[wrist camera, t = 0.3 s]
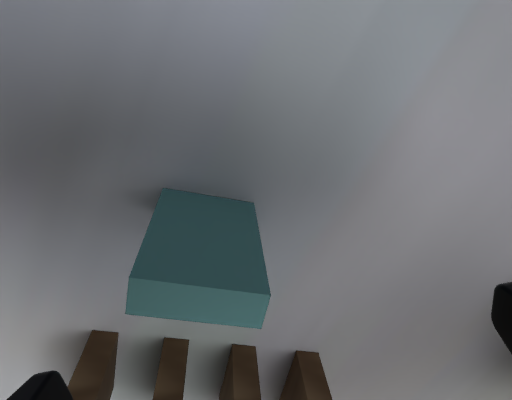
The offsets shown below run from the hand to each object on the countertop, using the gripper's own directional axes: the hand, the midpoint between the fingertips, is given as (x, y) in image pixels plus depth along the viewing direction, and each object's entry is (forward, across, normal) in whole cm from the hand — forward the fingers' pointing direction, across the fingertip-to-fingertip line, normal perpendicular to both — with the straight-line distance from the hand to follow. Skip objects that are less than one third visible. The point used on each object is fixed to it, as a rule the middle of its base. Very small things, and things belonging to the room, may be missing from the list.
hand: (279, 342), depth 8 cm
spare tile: (+13, +3, +3) cm, 14 cm away
